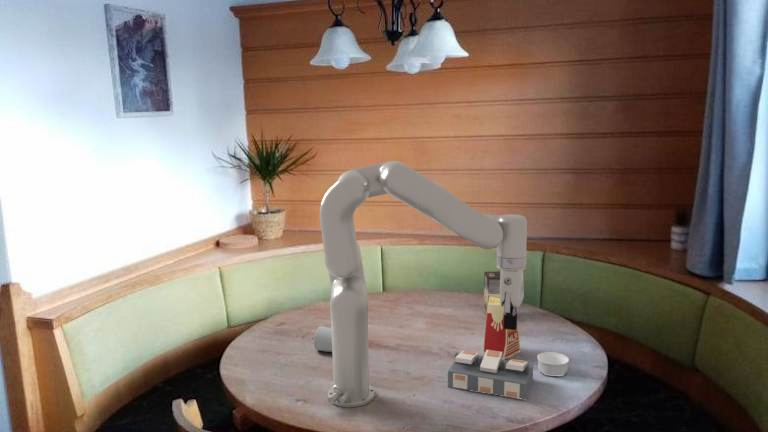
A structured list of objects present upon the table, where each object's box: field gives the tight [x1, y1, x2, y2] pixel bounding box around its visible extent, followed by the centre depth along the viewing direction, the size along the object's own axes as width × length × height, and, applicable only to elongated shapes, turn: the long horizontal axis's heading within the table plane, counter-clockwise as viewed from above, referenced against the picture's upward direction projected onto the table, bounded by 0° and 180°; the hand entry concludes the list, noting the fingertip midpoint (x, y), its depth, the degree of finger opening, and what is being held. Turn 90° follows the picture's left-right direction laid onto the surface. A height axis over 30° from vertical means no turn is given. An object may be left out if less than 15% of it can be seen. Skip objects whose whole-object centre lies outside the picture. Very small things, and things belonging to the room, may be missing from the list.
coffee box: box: [483, 270, 501, 317], centre depth 212 cm, size 9×6×16 cm
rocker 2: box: [506, 358, 528, 371], centre depth 157 cm, size 8×4×1 cm, turn 157°
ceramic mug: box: [313, 325, 332, 353], centre depth 185 cm, size 11×8×8 cm
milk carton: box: [482, 294, 521, 360], centre depth 179 cm, size 9×9×20 cm
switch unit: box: [447, 352, 534, 399], centre depth 160 cm, size 13×21×7 cm, turn 67°
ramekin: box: [536, 351, 570, 375], centre depth 167 cm, size 9×9×4 cm
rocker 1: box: [454, 350, 479, 364], centre depth 162 cm, size 8×4×1 cm, turn 157°
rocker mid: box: [480, 350, 502, 373], centre depth 159 cm, size 8×4×1 cm, turn 156°
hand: (510, 328), depth 154 cm, fingers closed
